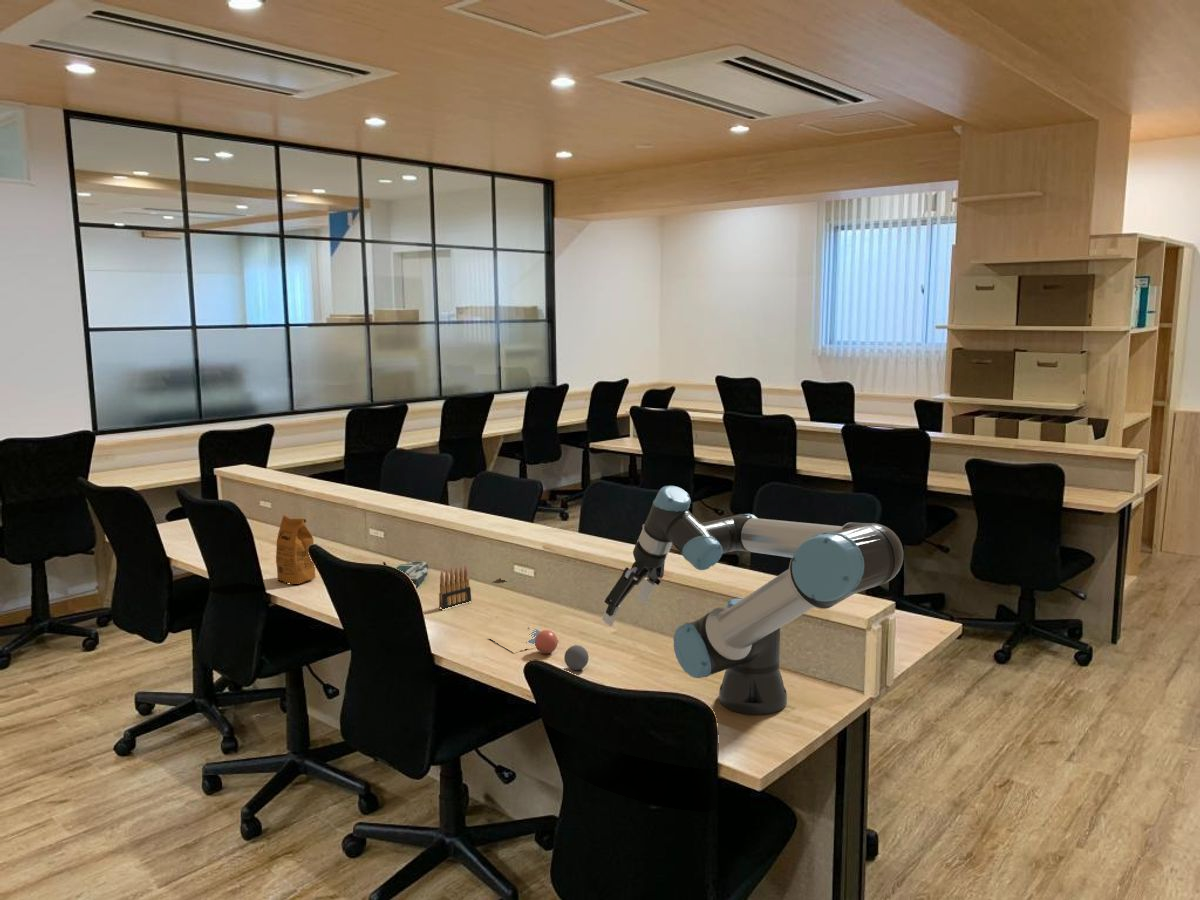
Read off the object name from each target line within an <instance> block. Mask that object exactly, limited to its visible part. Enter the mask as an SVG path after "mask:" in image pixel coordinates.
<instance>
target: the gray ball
mask: <svg viewBox="0 0 1200 900" xmlns="http://www.w3.org/2000/svg"><path fill="white" fill-rule="evenodd" d="M588 663H589V652H588V651H587V650H586V648H585V647H583V646H581V645H577V644H574V645H571V646H570V647H568V648H567V650H566V651H565V653H564V664H565V665H566V666H567V667H568V668H569V669H571V670H574V671H580V670H582V669H584V668H585V667H586V666H587V665H588Z"/></svg>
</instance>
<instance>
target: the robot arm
mask: <svg viewBox="0 0 1200 900" xmlns="http://www.w3.org/2000/svg"><path fill="white" fill-rule="evenodd" d="M691 503H692V500H691V497H690V494H689V493H688V492H687V491H685V489H683V488H681V487H679V486H675V485H664V486H663V487H661V488H660V489H659V491H658V492H657V494H656V497H655V498H654V500H653V502H652V503H651V504H652V505H651V507H650V511H649V513H648V515H647V518H646V520H645V523H643V524H642V525H641V526H642V529H641V532H640V534H639V536H638V539H637V541H636V543H635V546H634V548H633V551H632V555H633V557H634V562H633V564H632V565H631V567H630V568H629V567H628V566H627V567H625V568H624V570H623V571H622V573H621V576H620V577H619V578H618V580H617V581H616V583H615V584H614V586H613V587H612V589H611V591H610V592H609V594H608V595H607V596H606V598H605V600H604V603H605V604H606V605H607V607H606V609H605V611H604V614H603V616H602V618H601V620H602V621H603V622H604V623H605V624H606V625H608V626H609V627H612V626H613V625H614V622H615V620H616V618H617V616H618V613H619V610H620V608H621V604H622V602H623V601H624V600H625V599H626V597H627V596H628V594H629V593H631V591H632V590H633V588H634V587H635V586H639V584H640V583H641V582H642V581H643V582H642V585H641V587H640V589H639V592H638V593H637V596H636V599H637V600H639V602H641V603H642V604H643V605H647V604H648V601H649V599H650V597H651V594H652V592H653V591H654V588H655V586H656V585H657V586H659V585H660V584H661V582H662V581H661V580H660V579H662V578H663V577H664V574H665V561H666V559H667V556H668V554H669V552H670V551H671V549H672V545H673V547H675V548H676V549H677V551H678V552H680V554H681V556H682V557H683V559H684V560H685V561H687V562H689V564H690V565H692V567H693V568H695V569H696V570H698V571H705V570H706V571H707V570H709V569H710V568H711V567H713V566H714V565H716V564H717V563H718V562H719V560H720V559H721V558H722V556H723V554H726V553H731V552H735V551H741V552H747V553H756V554H764V555H771V556H778V557H784V558H790V562H789V564H788V565H789V566H788V569H786V570H785V571H783V572H782V573H780V574H779V575H777V576H775V577H774V578H772V579H771V580H770V581H768V582H766V583H765V584H764V585H762V586H761V587H759V588H757V589H756V590H754V591H753V592H751V593H750V594H749V595H746V597H744V598H741V597H740V598H732V599H730V600H728V601H727V605H726V606H719V607H716V608H713V609H712V610H711V611H709V612H708V613H706V614H705V615H703V616H702V617H700V618H699V619H696V620H694V621H690V622H684V623H683V624H682V625H680V626H678V627H677V628H676V629H675V632H674V635H673V651H674V654H675V657H676V660H677V662H678V664H679V665H680V668H681V669H682V670H683V672H685V673H686V674H687V675H689V676H690V677H692V678H693V679H702V678H708V677H710V676H712V675H715V674H717V673H720V672H722V671H725V672H724V674H723V678H722V682H721V685H720V686H719V690H718V693H719V694H718V697H719V698H718V699H719V700H718V701H719V702H720V704H721V705H722V706H723V707H724V708H726V709H728V710H730V711H731V712H736V713H739V714H746V715H755V716H758V715H759V716H760V715H761V716H762V715H770V714H774V713H777V711H778V712H780V711H781V709H782V710H783V709H784V708H786V706H787V703H788V702H787V701H788V692H787V690H786V687H785V685H784V681H783V677H782V676H783V675H782V674H781V670H780V655H781V654H780V652H781V651H780V649H781V648H780V647H781V643H780V642H781V628H783V626H785V625H787V624H789V623H790V622H792V621H794V620H796V619H797V618H799V617H800V616H803V615H804V614H806V613H807V612H809V611H811V610H812V609H814V608H815V609H819V610H828V609H830V608H832V607H834V606H835V605H837V604H840V603H842V602H843V601H845V600H846V599H849V597H851V596H853V595H855V594H858V593H860V592H863V591H865V590H868V589H872V588H875V587H878V586H881V585H884V584H887V583H888V582H889V581H892V580H893V579H894V578H895V577H896V575H898V573H899V572H900V570H901V568H902V566H903V562H904V548H903V545H902V542H901V540H900V538H899V536H898V535H897V534H896V533H895V532H894V531H893V530H892V529H890V528H889V527H888V526H885V525H882V524H880V523H873V522H871V523H870V522H869V523H867V522H847V523H845V524H844V525H843V526H842V525H841V526H840V525H831V524H830V525H829V524H820V523H810V522H801V521H800V522H799V521H798V522H797V521H788V520H778V519H769V518H768V519H767V518H758V517H757V516H756V515H755V514H751V513H740V514H735V515H733V516H728V517H724V518H720V519H715V520H714V519H713V520H710V521H709V520H708V521H706V522H705V521H704V522H700V521H699V520H698V518H696V517H695V516H694V515H693V513H692V512H690V510H689V509H690V508H691V506H690V505H691ZM635 579H636V580H635Z"/></svg>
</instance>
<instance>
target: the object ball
mask: <svg viewBox="0 0 1200 900" xmlns="http://www.w3.org/2000/svg"><path fill="white" fill-rule="evenodd" d="M558 641H559V639H558V636H557V635H556V634H555V633H554V631H552V630H548V629H545V630H541V631H540V632H539V633H538V634H537V636H536V638H535V646H536V649H537V651H538V652H540V653H541V654H546V655H547V654H552V653H553V652H554V651H555V650H556V649H557V647H558V643H559V642H558Z"/></svg>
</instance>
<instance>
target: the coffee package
mask: <svg viewBox="0 0 1200 900" xmlns="http://www.w3.org/2000/svg"><path fill="white" fill-rule="evenodd" d="M306 523H307V520H306V518H290V517H289V516H287V515H286V514H284V515H282V519H281V522H280V525H279V529H278V533H277V537H276V550H275V563H276V571H277V573H276V574H277V581H278V580H280V581H283V583H284V582H285V583H290V584H299V585H301V584H303V583H306V582H309V580H310V581H312V580H314V579H316V566H315V567H314V564H313V562H312V561H311V559H310V557H309V554H308V547H309V546H310V545H314V537H313V536H312V534H311V531H309V529H308V527H307V526H306ZM280 581H279V582H280ZM285 583H284V584H285ZM300 583H301V584H300Z"/></svg>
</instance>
